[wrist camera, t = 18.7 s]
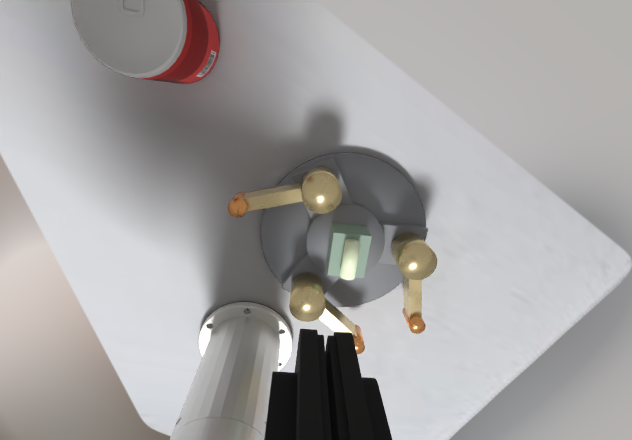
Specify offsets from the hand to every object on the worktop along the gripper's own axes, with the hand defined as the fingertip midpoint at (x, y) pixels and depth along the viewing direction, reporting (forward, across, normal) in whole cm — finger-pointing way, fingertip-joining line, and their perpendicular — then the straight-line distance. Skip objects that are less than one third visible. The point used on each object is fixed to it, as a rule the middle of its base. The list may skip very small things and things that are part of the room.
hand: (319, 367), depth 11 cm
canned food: (+29, +14, -12) cm, 35 cm away
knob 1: (+27, +2, +2) cm, 27 cm away
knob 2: (+27, -4, +16) cm, 31 cm away
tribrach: (+29, -5, +7) cm, 30 cm away
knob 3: (+27, -13, +11) cm, 32 cm away
